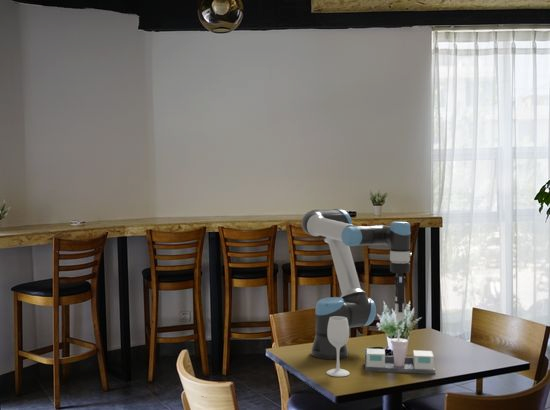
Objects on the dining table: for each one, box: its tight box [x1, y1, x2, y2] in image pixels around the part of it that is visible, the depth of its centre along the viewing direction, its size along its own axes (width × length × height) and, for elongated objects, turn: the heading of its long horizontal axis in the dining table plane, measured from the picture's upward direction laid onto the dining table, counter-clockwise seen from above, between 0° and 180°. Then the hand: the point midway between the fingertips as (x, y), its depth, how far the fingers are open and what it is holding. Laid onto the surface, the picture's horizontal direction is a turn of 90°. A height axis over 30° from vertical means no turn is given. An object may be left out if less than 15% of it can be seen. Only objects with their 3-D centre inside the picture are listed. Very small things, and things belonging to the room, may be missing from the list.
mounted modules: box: [365, 347, 435, 370], centre depth 244 cm, size 25×8×5 cm, turn 81°
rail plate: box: [364, 354, 436, 375], centre depth 245 cm, size 26×10×4 cm, turn 81°
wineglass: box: [326, 316, 350, 378], centre depth 238 cm, size 9×9×21 cm
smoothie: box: [390, 328, 409, 366], centre depth 244 cm, size 6×6×14 cm
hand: (399, 317), depth 244 cm, fingers open, 13 cm apart
